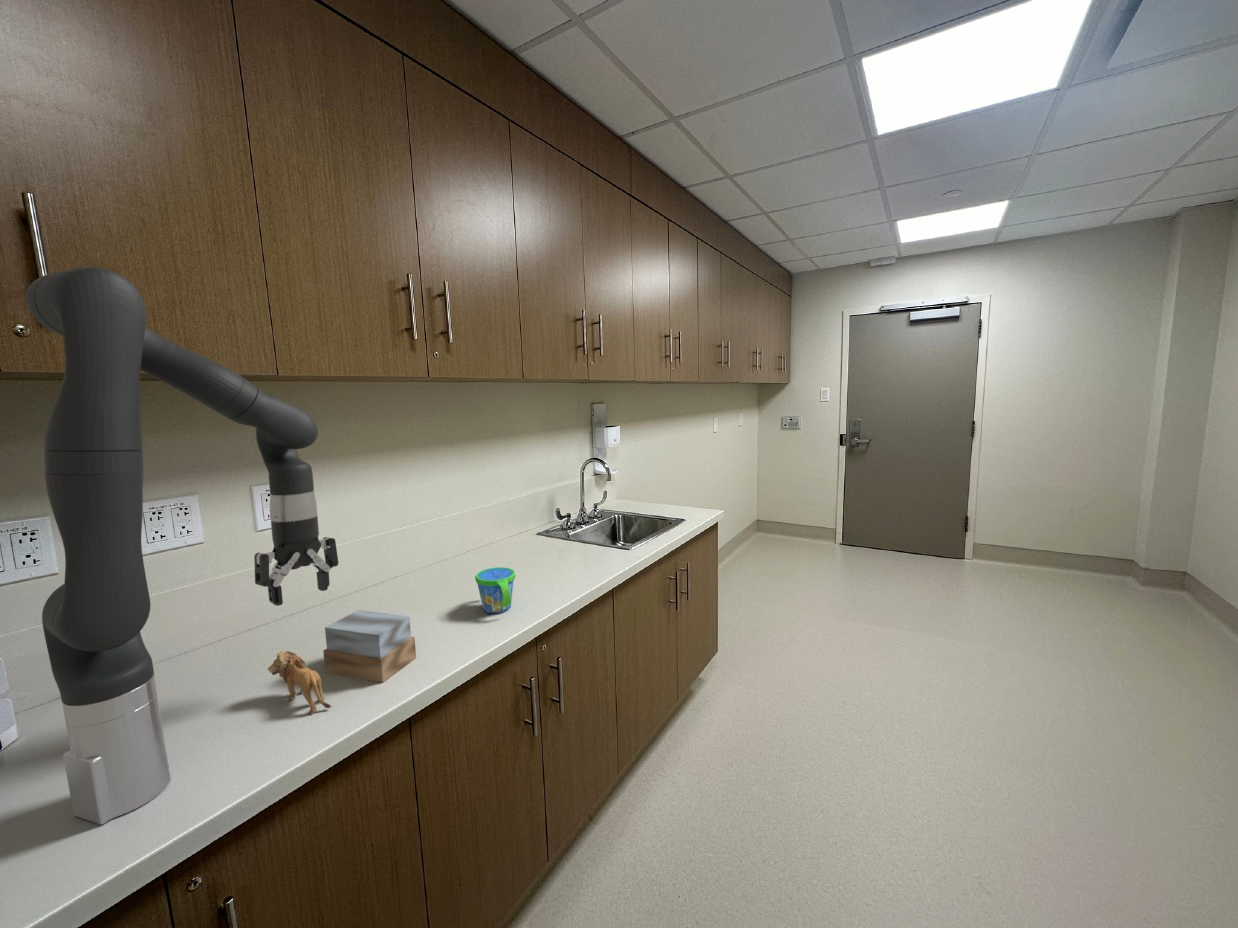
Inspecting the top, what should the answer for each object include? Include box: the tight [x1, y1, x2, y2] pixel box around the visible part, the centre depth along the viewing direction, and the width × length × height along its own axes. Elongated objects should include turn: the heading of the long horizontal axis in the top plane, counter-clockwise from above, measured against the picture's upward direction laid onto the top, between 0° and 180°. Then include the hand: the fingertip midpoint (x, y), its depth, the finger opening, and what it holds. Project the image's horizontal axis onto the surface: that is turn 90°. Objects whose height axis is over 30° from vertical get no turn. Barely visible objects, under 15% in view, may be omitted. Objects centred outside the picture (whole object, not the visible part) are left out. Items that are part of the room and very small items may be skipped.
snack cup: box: [474, 566, 517, 614], centre depth 134 cm, size 16×10×10 cm
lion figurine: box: [267, 650, 332, 715], centre depth 94 cm, size 15×5×9 cm, turn 66°
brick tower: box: [323, 609, 417, 684], centre depth 106 cm, size 10×15×10 cm, turn 73°
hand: (301, 596), depth 96 cm, fingers open, 8 cm apart
